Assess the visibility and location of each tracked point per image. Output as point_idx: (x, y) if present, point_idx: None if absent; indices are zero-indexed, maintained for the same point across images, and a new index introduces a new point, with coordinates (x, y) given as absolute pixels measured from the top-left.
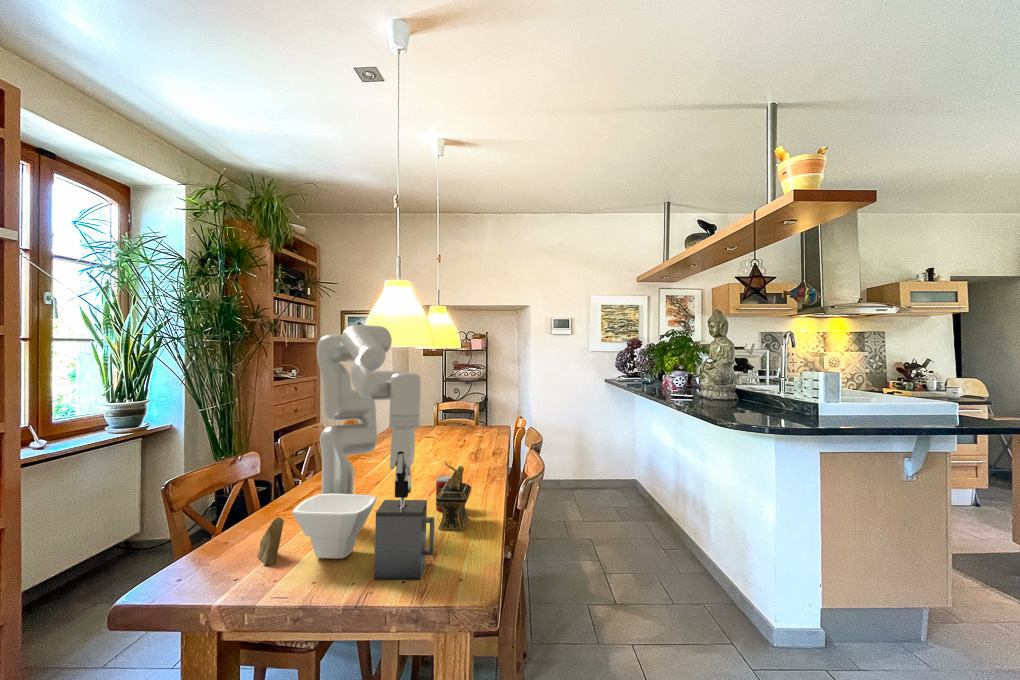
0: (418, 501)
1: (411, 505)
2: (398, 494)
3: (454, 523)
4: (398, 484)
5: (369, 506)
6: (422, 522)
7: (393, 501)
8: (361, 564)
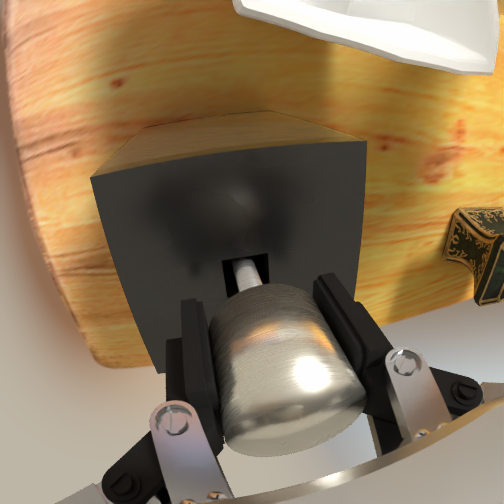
0: None
1: None
2: (167, 340)
3: (457, 247)
4: (168, 397)
5: (373, 50)
6: None
7: (334, 201)
8: (247, 56)
